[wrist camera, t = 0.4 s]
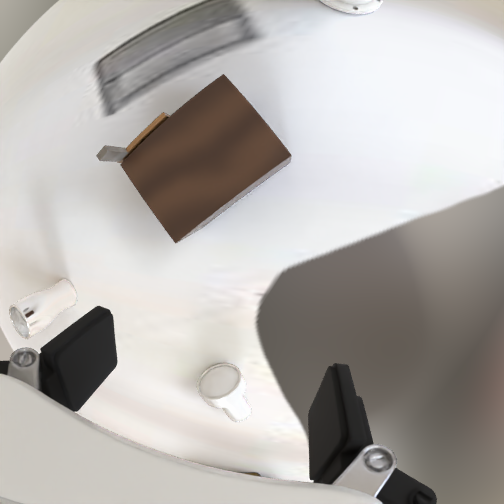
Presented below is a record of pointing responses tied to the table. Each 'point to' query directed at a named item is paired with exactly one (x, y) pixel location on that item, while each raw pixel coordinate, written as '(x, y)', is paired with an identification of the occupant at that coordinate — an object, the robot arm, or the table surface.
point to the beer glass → (41, 308)
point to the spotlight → (225, 390)
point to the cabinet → (204, 159)
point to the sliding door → (121, 153)
